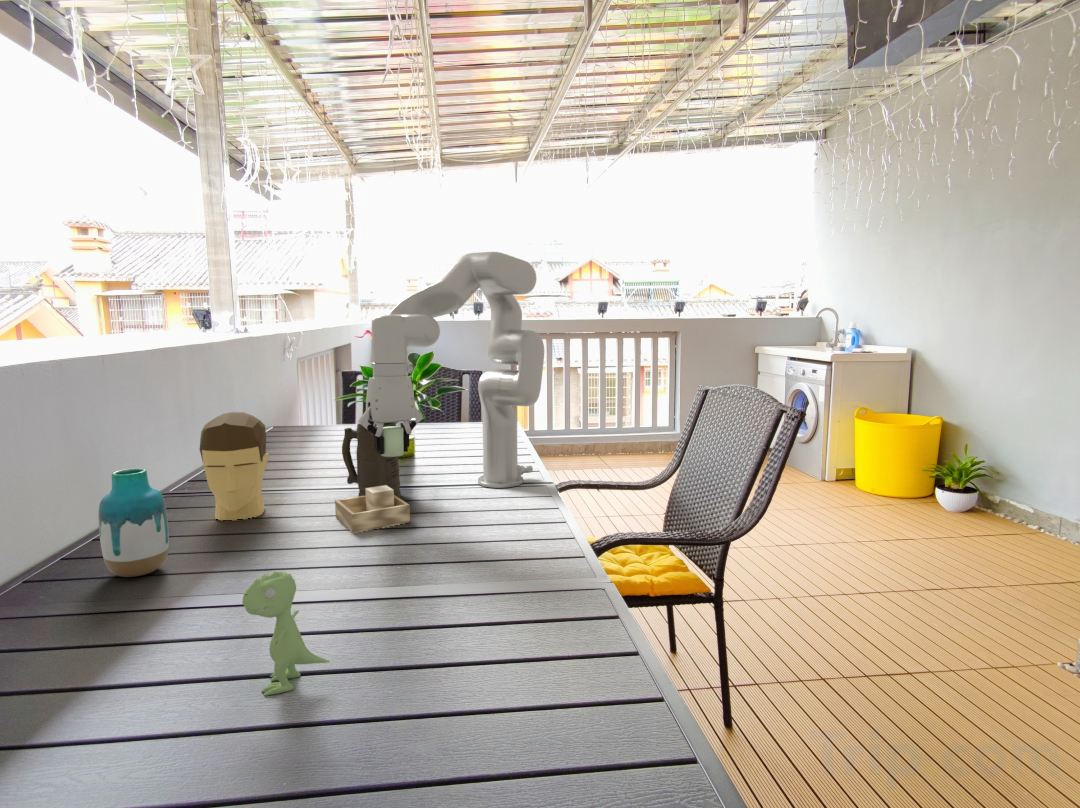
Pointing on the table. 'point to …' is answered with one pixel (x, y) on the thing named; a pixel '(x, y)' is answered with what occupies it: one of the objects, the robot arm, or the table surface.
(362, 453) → the beer stein
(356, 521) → the box
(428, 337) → the robot arm
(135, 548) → the vase
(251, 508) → the head
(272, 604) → the toy
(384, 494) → the cream block
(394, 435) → the green cylinder
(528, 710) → the table surface
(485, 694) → the table surface
